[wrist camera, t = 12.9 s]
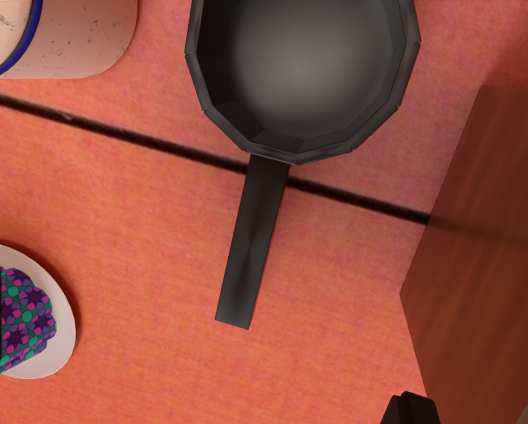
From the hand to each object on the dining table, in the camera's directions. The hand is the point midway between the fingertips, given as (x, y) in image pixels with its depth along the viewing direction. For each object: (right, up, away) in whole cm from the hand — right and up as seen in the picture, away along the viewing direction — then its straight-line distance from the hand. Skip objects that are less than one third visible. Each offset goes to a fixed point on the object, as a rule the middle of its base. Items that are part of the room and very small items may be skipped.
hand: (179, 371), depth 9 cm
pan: (+3, +8, +15) cm, 17 cm away
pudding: (-18, -4, +23) cm, 29 cm away
